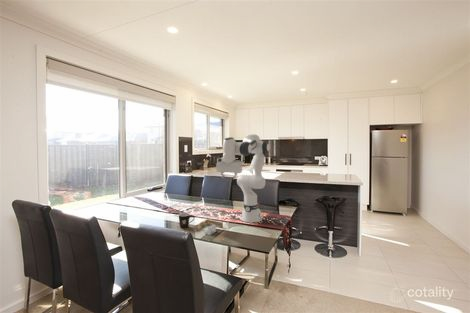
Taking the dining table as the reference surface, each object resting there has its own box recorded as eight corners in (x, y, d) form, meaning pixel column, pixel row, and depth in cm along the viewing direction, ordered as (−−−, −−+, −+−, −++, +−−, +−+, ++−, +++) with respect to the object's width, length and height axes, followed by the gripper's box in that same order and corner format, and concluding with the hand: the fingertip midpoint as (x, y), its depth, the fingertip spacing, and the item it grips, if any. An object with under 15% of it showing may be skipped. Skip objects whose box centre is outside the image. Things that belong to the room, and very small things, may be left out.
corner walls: (206, 224, 193) (206, 219, 193) (222, 227, 186) (222, 222, 186) (194, 230, 179) (194, 225, 178) (211, 234, 171) (211, 229, 171)
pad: (205, 226, 187) (205, 226, 187) (213, 228, 184) (213, 228, 184) (201, 229, 182) (201, 229, 182) (208, 231, 178) (208, 230, 178)
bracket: (210, 230, 180) (210, 223, 179) (215, 231, 177) (215, 224, 177) (204, 233, 173) (204, 226, 173) (210, 235, 171) (210, 227, 171)
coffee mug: (176, 228, 184) (176, 215, 183) (182, 224, 192) (181, 212, 191) (190, 229, 180) (190, 217, 180) (195, 226, 189) (195, 213, 188)
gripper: (243, 160, 170) (243, 178, 171) (219, 158, 180) (219, 176, 180) (239, 160, 165) (239, 180, 165) (215, 159, 174) (214, 177, 175)
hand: (228, 178), depth 173 cm, fingers open, 8 cm apart
